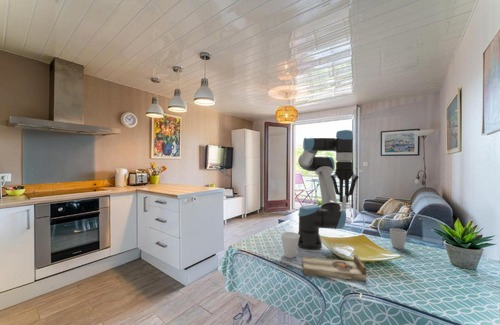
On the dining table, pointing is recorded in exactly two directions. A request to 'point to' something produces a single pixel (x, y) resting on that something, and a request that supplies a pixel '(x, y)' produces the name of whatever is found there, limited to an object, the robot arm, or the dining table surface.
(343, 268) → the ball
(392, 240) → the cup
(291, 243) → the cup
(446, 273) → the dining table surface
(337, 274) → the board
